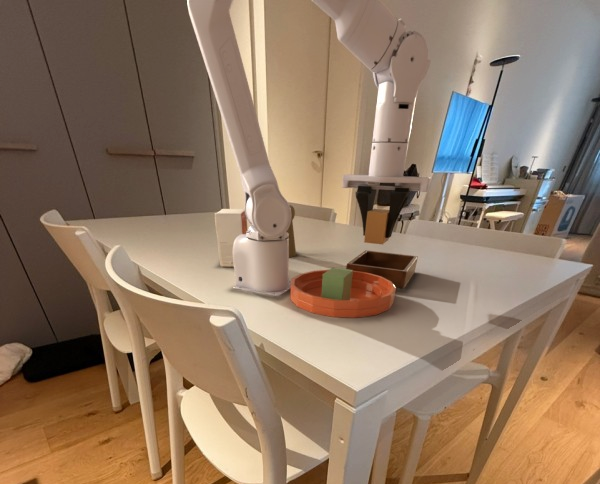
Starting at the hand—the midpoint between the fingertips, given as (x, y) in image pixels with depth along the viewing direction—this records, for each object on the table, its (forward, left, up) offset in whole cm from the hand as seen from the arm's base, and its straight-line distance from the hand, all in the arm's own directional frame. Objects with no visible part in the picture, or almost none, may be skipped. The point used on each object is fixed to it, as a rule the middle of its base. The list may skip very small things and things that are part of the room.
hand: (377, 236), depth 62 cm
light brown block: (0, 0, -1) cm, 1 cm away
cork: (-26, +13, -9) cm, 30 cm away
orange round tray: (-2, -13, -9) cm, 15 cm away
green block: (-2, -16, -8) cm, 18 cm away
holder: (+1, +4, -9) cm, 9 cm away
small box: (-32, 0, -9) cm, 33 cm away
